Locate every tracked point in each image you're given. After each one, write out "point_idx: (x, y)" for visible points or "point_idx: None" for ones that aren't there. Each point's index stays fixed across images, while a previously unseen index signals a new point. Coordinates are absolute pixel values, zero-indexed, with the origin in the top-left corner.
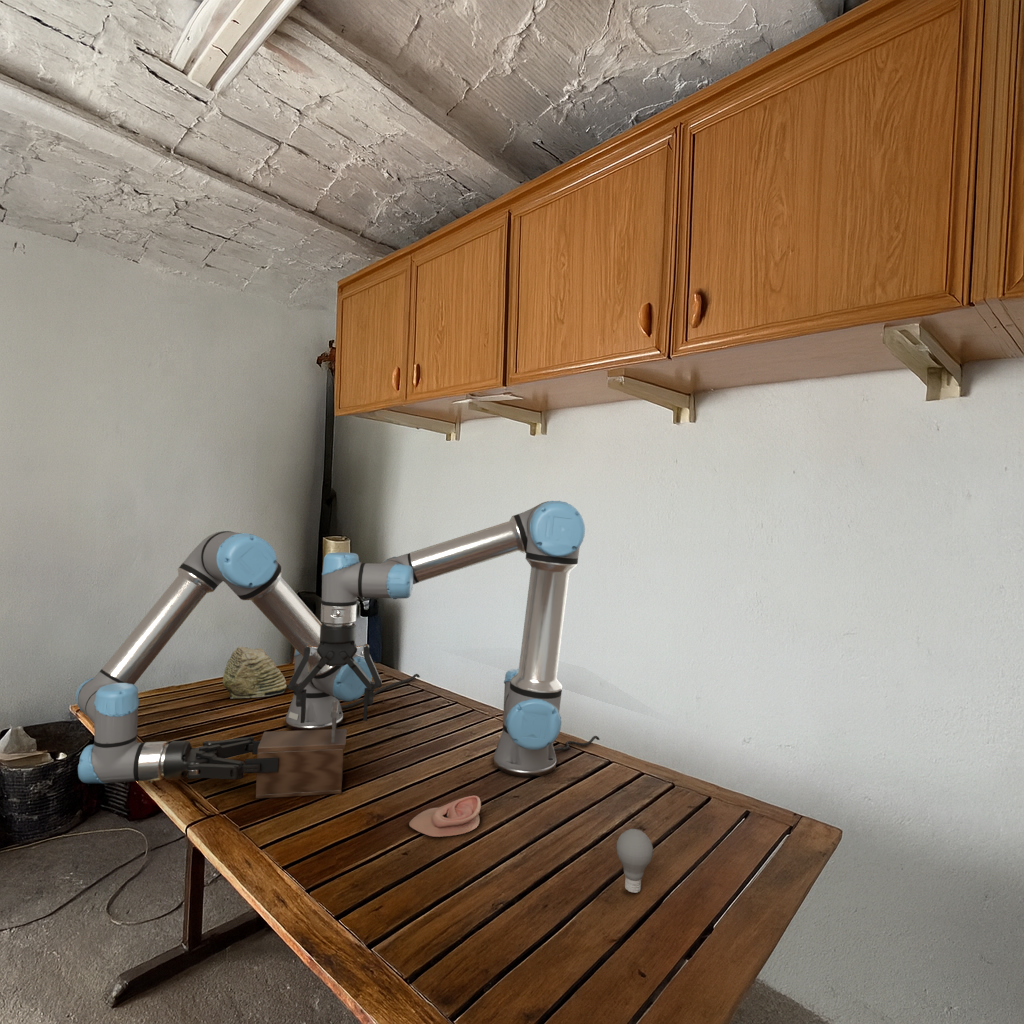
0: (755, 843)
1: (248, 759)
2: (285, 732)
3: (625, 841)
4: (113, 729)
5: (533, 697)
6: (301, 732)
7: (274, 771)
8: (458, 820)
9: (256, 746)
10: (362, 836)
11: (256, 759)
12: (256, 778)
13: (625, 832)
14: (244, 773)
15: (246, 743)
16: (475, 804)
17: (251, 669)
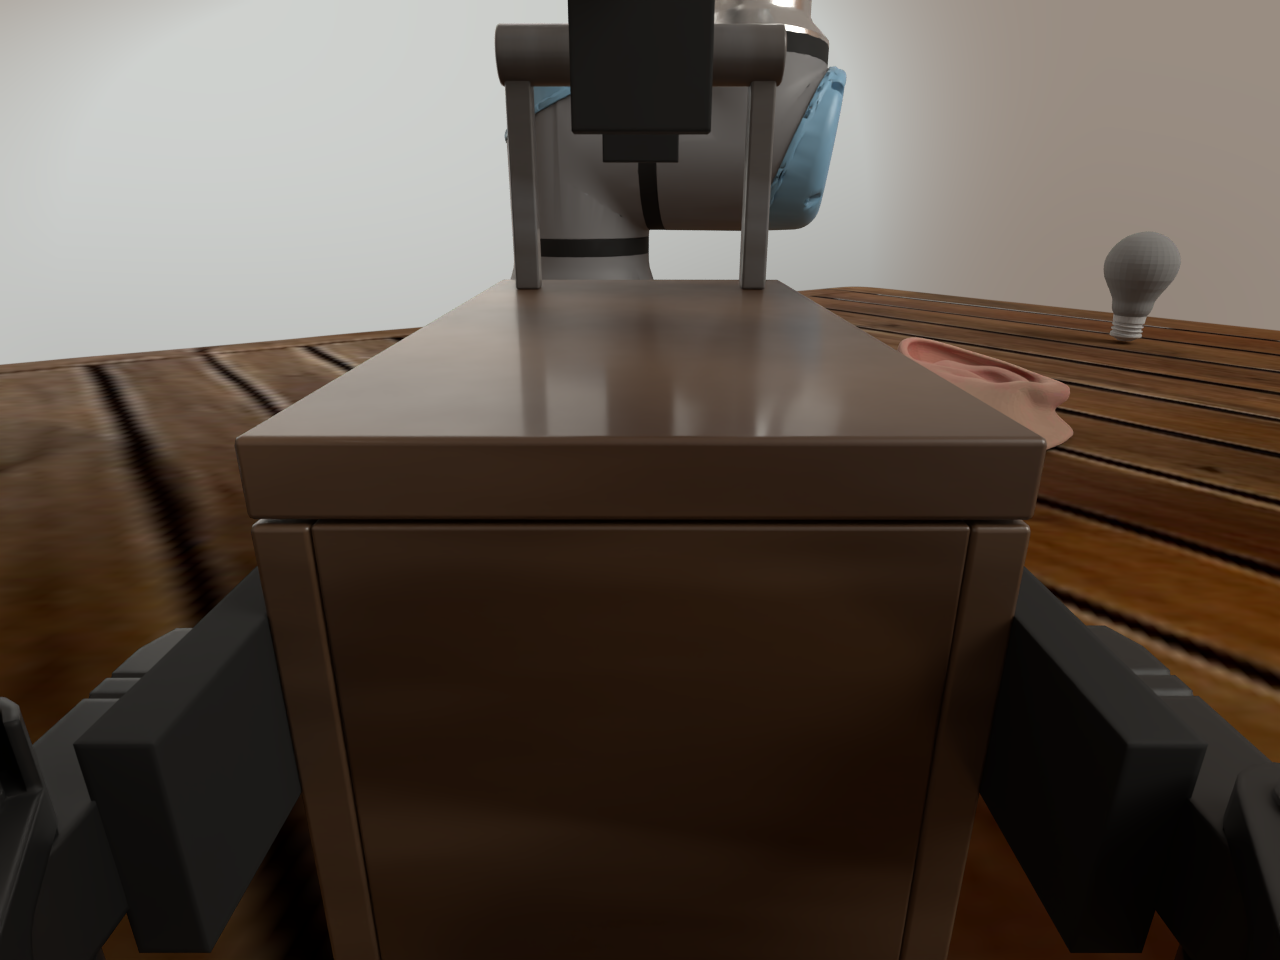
0: (911, 302)
1: (1117, 701)
2: (424, 358)
3: (1169, 245)
4: None
5: (826, 64)
6: (487, 325)
7: None
8: (1032, 372)
9: (214, 769)
10: (1169, 528)
11: (1054, 621)
12: (957, 879)
13: (1148, 238)
14: (1135, 950)
15: (26, 890)
16: (924, 356)
17: None
